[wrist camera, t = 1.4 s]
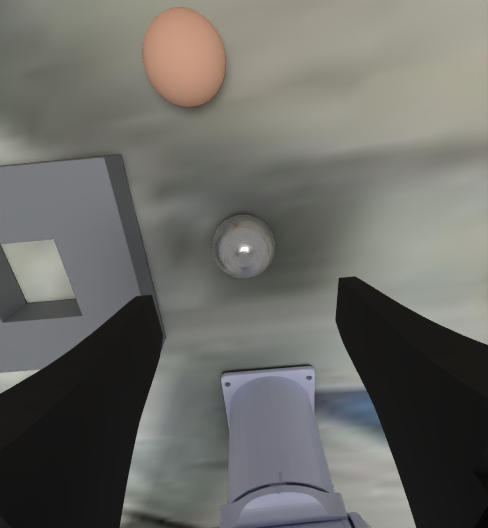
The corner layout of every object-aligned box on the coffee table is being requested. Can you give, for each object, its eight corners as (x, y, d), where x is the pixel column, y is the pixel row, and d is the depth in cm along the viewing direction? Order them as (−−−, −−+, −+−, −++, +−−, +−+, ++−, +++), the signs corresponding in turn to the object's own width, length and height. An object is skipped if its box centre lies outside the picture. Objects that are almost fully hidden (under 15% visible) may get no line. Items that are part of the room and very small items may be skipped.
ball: (230, 106, 17) (228, 99, 13) (162, 113, 17) (142, 107, 13) (222, 20, 15) (218, -15, 12) (147, 28, 15) (119, -5, 12)
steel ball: (272, 260, 21) (280, 286, 17) (218, 265, 21) (213, 292, 17) (270, 205, 19) (277, 221, 16) (210, 210, 20) (204, 228, 16)
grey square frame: (165, 337, 24) (158, 359, 21) (-4, 352, 24) (-30, 375, 22) (120, 154, 18) (103, 157, 16) (-102, 175, 18) (-151, 181, 16)
